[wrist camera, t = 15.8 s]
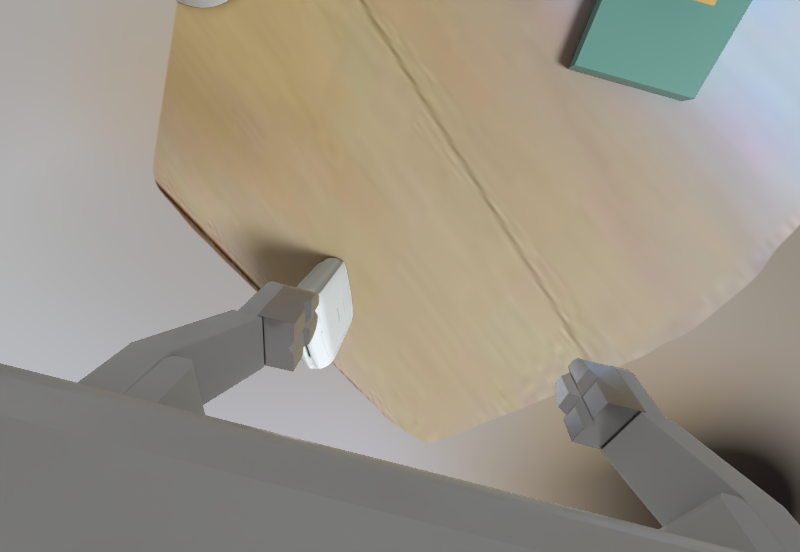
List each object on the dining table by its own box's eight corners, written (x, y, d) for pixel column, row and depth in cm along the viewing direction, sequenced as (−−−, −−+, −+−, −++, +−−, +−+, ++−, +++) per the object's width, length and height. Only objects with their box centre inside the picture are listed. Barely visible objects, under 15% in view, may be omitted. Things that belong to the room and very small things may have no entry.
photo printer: (356, 320, 44) (330, 378, 33) (329, 320, 45) (294, 378, 33) (347, 256, 40) (314, 298, 29) (317, 257, 41) (273, 299, 29)
